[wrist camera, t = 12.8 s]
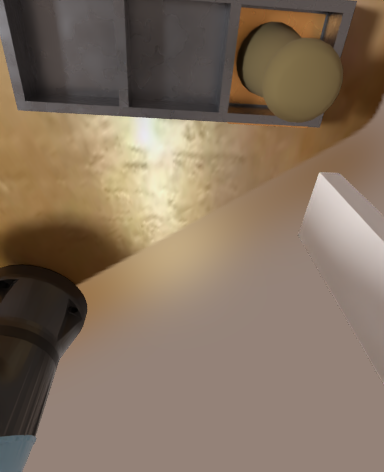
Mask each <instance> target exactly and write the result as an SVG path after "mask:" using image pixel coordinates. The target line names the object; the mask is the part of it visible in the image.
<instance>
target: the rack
mask: <svg viewBox="0 0 384 472" xmlns="http://www.w3.org/2000/svg"><path fill="white" fill-rule="evenodd" d="M356 3H357V1H350V0H0V36H1V41H2V45H3V49H4V53H5V57H6V62H7V66H8V70H9V74H10V79H11V83H12V87H13V91H14V96H15V100H16V104H17V108H18V110H23V111H41V112H58V113H76V114H93V115H111V116H128V117H146V118H163V119H181V120H198V121H216V122H227V123H229V124H247V125H264V126H282V127H300V128H308V127H320V124H321V121H322V118H323V114H324V113H323V114H321V115H320V116H318V117H316V118H315V119H313V120H310V121H306V122H302V123H296V122H287V121H285V120H282V119H280V118H278V117H277V116H276V115H275V114H274V113H273V112H272V111H270V109H269V108H268V106H267V104H266V102H265V100H264V98H263V97H260V96H258V95H256V94H253V93H251V92H249V91H248V90H247V89H246V88H245V87H244V86H243V85H242V83H241V81H240V79H239V77H238V72H237V66H236V63H237V56H238V51H239V49H240V47H241V44H242V42H243V40H244V39H245V38H246V37H247V35H248V34H249V33H250V32H251V31H252V30H254V29H255V28H256V27H258V26H259V25H261V24H264V23H268V22H271V21H272V22H282V23H284V24H286V25H288V26H290V27H292V28H293V29H294V30H295V31H296V32H297V33H298V34H299V35H300V36H301V37H302V38H316V39H320V40H322V41H324V42H326V43H328V44H330V45H331V46H332V48H333V49H334V50H335V51H336V52H337V54H338V55H339V57H341V54H342V50H343V47H344V44H345V40H346V37H347V33H348V30H349V27H350V23H351V20H352V17H353V13H354V10H355V6H356Z"/></svg>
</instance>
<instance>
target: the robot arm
mask: <svg viewBox="0 0 384 472" xmlns="http://www.w3.org/2000/svg"><path fill="white" fill-rule="evenodd" d="M298 236H299V238H300V240H301V242H302V243H303V245H304V246H305V249H306V250H307V252H308V254H309V256H310V257H311V259H312V261H313V262H314V264H315V266H316V268H317V270H318V271H319V273H320V275H321V276H322V278H323V280H324V282H325V283H326V285H327V287H328V289H329V290H330V292H331V294H332V296H333V297H334V299H335V301H336V303H337V304H338V306H339V308H340V310H341V311H342V313H343V315H344V317H345V318H346V320H347V322H348V323H349V325H350V327H351V329H352V330H353V332H354V334H355V336H356V338H357V339H358V341H359V343H360V345H361V346H362V348H363V350H364V352H365V353H366V355H367V357H368V359H369V360H370V362H371V364H372V366H373V367H374V369H375V371H376V373H377V374H378V376H379V378H380V380H381V381H382V383H383V385H384V216H383V215H382V214H381V213H380V212H379V211H378V210H377V209H376V208H375V207H374V206H373V205H372V204H371V203H370V202H369V201H368V200H367V199H366V198H365V197H364V196H363V195H362V194H361V193H360V192H359V191H357V190H356V189H355V188H354V187H353V186H352V185H351V184H350V183H349V182H348V181H347V180H346V179H345V178H344V177H343V176H342V175H341V174H340V173H325V172H320V173H319V175H318V178H317V181H316V184H315V187H314V190H313V193H312V196H311V198H310V202H309V204H308V207H307V210H306V213H305V216H304V219H303V222H302V225H301V228H300V231H299V234H298ZM86 314H87V303H86V300H85V297H84V296H83V294H82V293H81V291H80V290H79V289H78V287H77V286H76V285H74V284H73V283H72V282H71V281H70V280H68V279H67V278H65V277H63V276H62V275H60V274H58V273H56V272H53V271H51V270H48V269H45V268H41V267H36V266H29V265H13V266H6V267H2V268H0V472H22V471H23V468H24V466H25V464H26V461H27V459H28V456H29V454H30V451H31V448H32V446H33V444H34V443H35V441H36V437H35V436H36V433H37V430H38V426H39V423H40V420H41V417H42V414H43V410H44V407H45V404H46V401H47V397H48V394H49V391H50V388H51V385H52V382H53V378H54V375H55V372H56V368H57V365H58V362H59V360H60V358H61V357H62V355H63V354H64V352H65V351H66V350H67V349H68V347H69V346H70V345H71V343H72V342H73V341H74V339H75V338H76V336H77V335H78V334H79V332H80V331H81V329H82V327H83V324H84V321H85V317H86Z"/></svg>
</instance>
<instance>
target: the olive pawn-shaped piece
mask: <svg viewBox="0 0 384 472" xmlns="http://www.w3.org/2000/svg"><path fill="white" fill-rule="evenodd" d="M236 66H237V72H238V77H239V79H240V81H241V83H242V85H243V86H244V87H245V88H246V89H247V90H248V91H249V92H251V93H253V94H256V95H258V96H260V97H263V98H264V100H265V102H266V104H267V106H268V108H269V109H270V111H272V112H273V113H274V114H275V115H276V116H277V117H278V118H280V119H282V120H285V121H287V122H296V123H302V122H306V121H310V120H313V119H315V118H316V117H318V116H320V115H321V114H323V113H324V112H325V111H326V110H327V109H328V108H329V107H330V106H331V105H332V104H333V102H334V101H335V99H336V97H337V96H338V94H339V91H340V88H341V85H342V82H343V67H342V64H341V60H340V57H339V55H338V54H337V52H336V51H335V50H334V49H333V48H332V46H331V45H330V44H328V43H326V42H324V41H322V40H320V39H316V38H302V37H301V36H300V35H299V34H298V33H297V32H296V31H295V30H294V29H293V28H292V27H290V26H288V25H286V24H284V23H282V22H272V21H271V22H268V23H264V24H261V25H259V26H258V27H256V28H255V29H254V30H252V31H251V32H250V33H249V34H248V35H247V37H246V38H245V39H244V40H243V42H242V44H241V47H240V49H239V51H238V56H237V63H236Z"/></svg>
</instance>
